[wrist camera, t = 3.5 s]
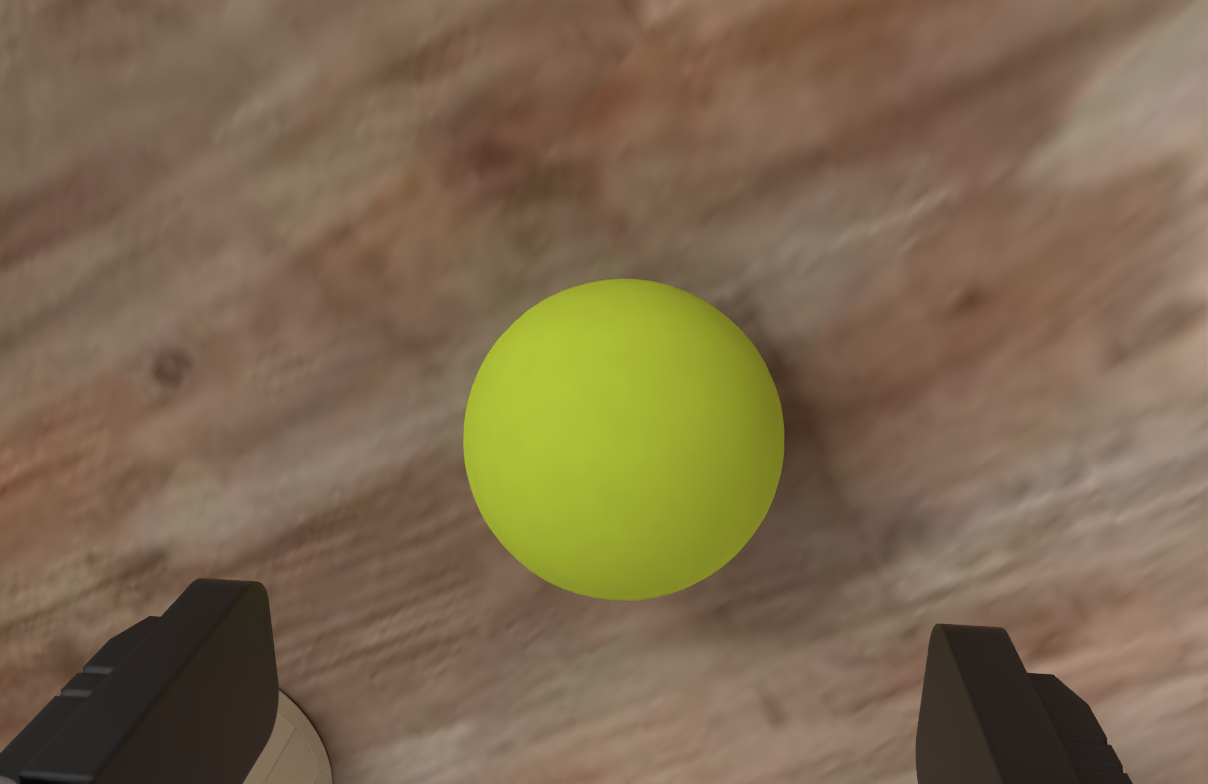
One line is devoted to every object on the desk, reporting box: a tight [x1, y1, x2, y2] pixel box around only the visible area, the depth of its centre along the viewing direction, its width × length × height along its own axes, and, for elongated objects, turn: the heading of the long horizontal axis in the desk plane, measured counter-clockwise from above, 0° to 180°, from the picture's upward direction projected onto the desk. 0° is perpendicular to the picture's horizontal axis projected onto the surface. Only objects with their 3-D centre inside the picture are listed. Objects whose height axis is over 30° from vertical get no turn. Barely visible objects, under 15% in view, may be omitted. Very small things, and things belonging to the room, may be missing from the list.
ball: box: [463, 279, 784, 600], centre depth 19 cm, size 6×6×6 cm
